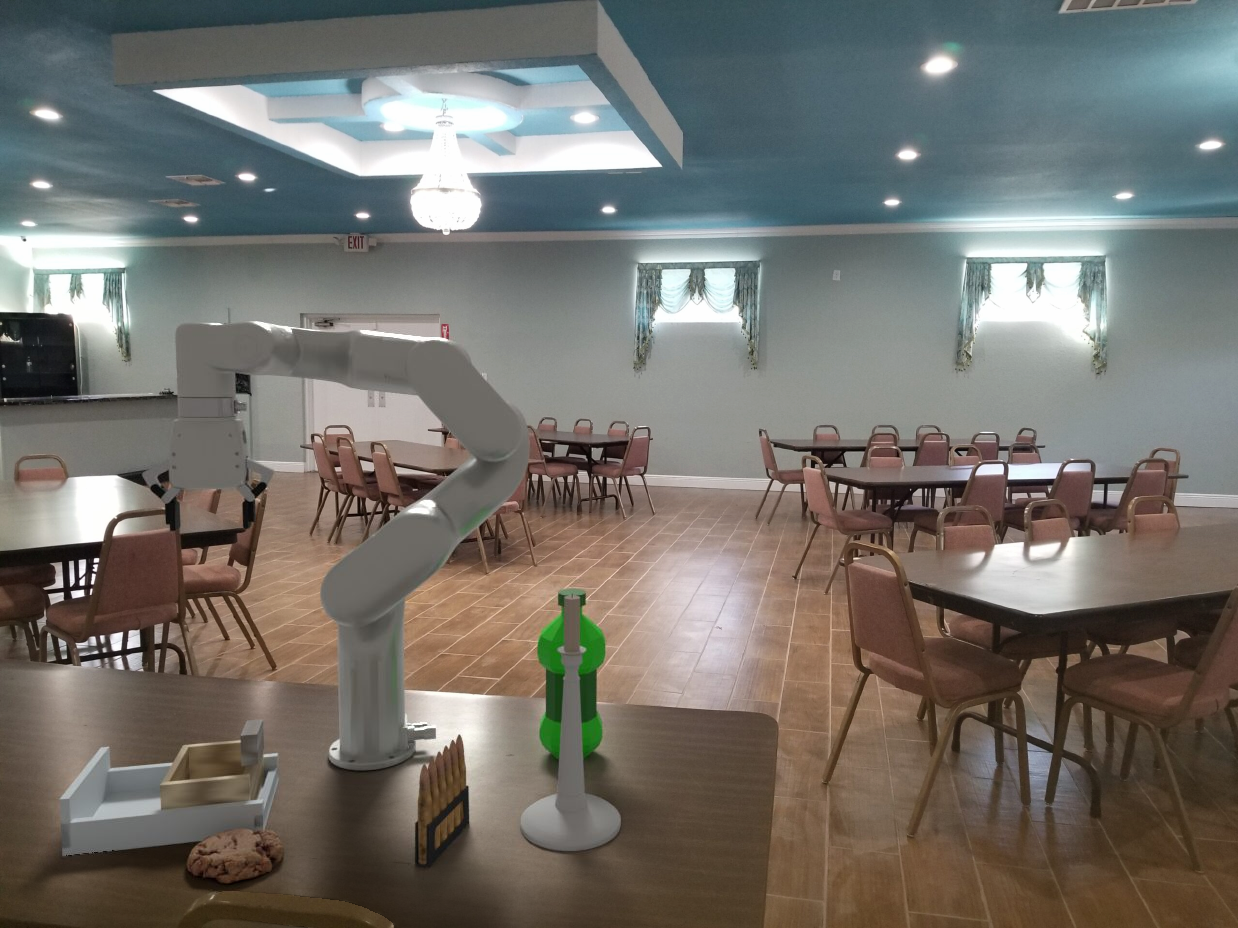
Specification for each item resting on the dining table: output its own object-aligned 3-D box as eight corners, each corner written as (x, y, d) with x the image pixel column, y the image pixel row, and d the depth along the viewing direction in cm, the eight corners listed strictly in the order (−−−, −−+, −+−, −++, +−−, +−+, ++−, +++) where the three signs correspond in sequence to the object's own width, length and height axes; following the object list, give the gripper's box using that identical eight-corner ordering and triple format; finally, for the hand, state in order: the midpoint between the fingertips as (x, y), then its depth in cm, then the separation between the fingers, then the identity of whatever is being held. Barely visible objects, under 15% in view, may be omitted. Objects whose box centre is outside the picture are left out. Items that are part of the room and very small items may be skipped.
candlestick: (622, 800, 116) (624, 582, 113) (619, 852, 103) (622, 607, 100) (527, 798, 116) (527, 580, 113) (513, 849, 104) (513, 605, 101)
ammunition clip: (456, 820, 110) (456, 730, 109) (469, 822, 110) (469, 732, 108) (414, 865, 100) (412, 766, 99) (428, 868, 99) (427, 768, 98)
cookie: (198, 846, 104) (197, 822, 104) (291, 837, 106) (290, 813, 106) (174, 894, 94) (173, 868, 94) (277, 882, 97) (276, 857, 96)
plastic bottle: (549, 736, 136) (550, 581, 134) (613, 744, 133) (615, 586, 131) (525, 763, 127) (526, 597, 124) (594, 773, 124) (595, 603, 121)
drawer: (268, 778, 119) (266, 709, 118) (255, 820, 107) (252, 745, 106) (184, 786, 116) (182, 716, 115) (161, 830, 105) (158, 753, 104)
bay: (278, 780, 120) (277, 732, 120) (263, 833, 106) (261, 779, 106) (103, 797, 115) (101, 747, 114) (62, 856, 101) (59, 799, 100)
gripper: (275, 409, 129) (278, 522, 130) (148, 409, 124) (153, 526, 126) (268, 411, 121) (271, 531, 123) (132, 411, 117) (138, 535, 119)
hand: (211, 528), depth 125 cm, fingers open, 9 cm apart
